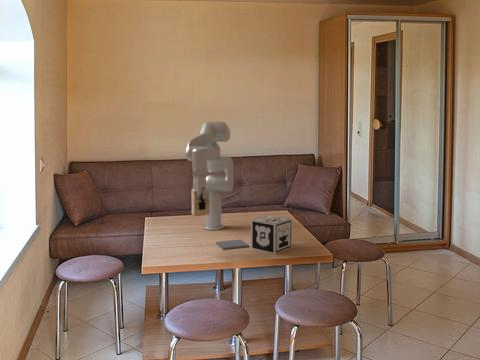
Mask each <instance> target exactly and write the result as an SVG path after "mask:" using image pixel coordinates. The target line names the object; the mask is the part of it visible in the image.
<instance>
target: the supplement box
mask: <svg viewBox="0 0 480 360" xmlns="http://www.w3.org/2000/svg"><path fill="white" fill-rule="evenodd" d="M190 196H191V215H192V216H193V217H200V216H205V215H209V190H208V189H207V195H206V198H205V210H199V202H200V200H199V196H196V190H194V189H193V188H192V189H191V193H190ZM200 196H203V195H200ZM201 198H202V197H201Z"/></svg>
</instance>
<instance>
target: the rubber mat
mask: <svg viewBox="0 0 480 360" xmlns="http://www.w3.org/2000/svg"><path fill="white" fill-rule="evenodd" d="M215 245H217V247H219V248H221V249H222V250H223V251H224V250H234V249H243V248H250V245H249V244H248V243H247V242H245V241H243V240H242V239H232V240H222V241H216V242H215Z"/></svg>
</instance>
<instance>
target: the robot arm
mask: <svg viewBox="0 0 480 360" xmlns="http://www.w3.org/2000/svg"><path fill="white" fill-rule="evenodd" d="M199 130H200V131H199V135H197V136H195V137H193V138H191V139H190V140H188V143H187V145H186V148H185V158H186V160H187V161H189V162H192V166H191V168H192V171H191V172H192V177H193V178H192V189H194V190H196V196H199V200H200V202H199V210H205V198H206V195H207V189H208V190H209V215H204V216H205V224H203V225H202V228H203V229H204V230H209V231H218V230H222V229H225V225H224V224H222V197H221V195H220V194H219V193H218V192H231V191H232V190H233V188H234V161H233V158H232V157H230V156H222V155H221V147H220V144H219V143H221V142H222V143H225V142H226V143H227V142H228V141H229V140H230V139H231V130H230V127H229V126H228V124H227V123H226V122H224V121H206V122H204V123H203V124H202V125H201V128H200V129H199ZM218 142H219V143H218ZM208 172H209V173H211V174H208ZM212 173H214V174H212ZM215 173H217V174H215ZM220 173H222V174H220ZM200 195H203V196H200ZM201 197H202V198H201Z"/></svg>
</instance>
